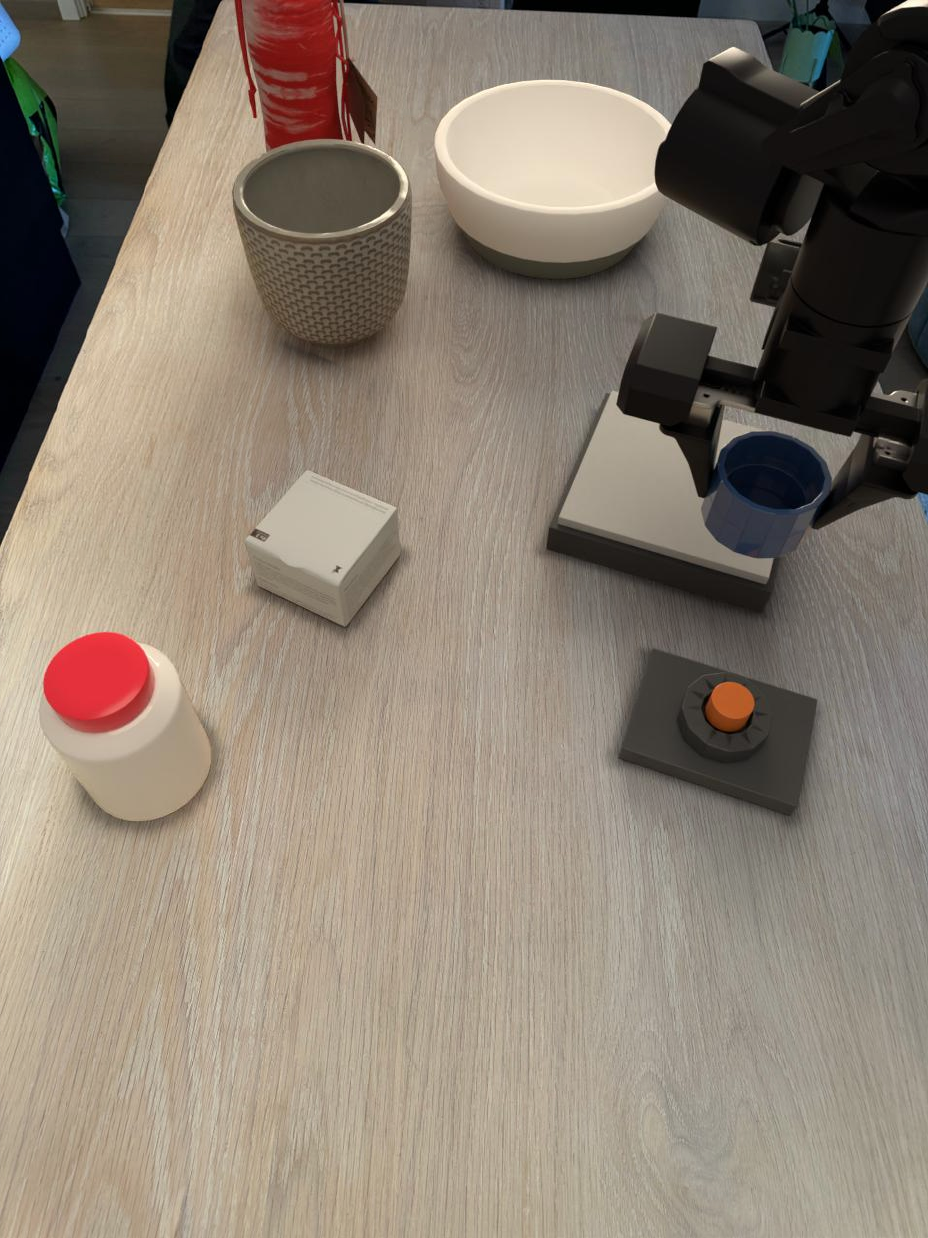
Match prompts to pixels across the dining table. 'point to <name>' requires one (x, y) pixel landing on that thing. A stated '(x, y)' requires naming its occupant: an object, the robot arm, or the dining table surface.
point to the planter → (326, 237)
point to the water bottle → (302, 71)
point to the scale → (651, 513)
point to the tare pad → (720, 733)
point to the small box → (324, 547)
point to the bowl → (551, 175)
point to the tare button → (729, 706)
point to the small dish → (765, 494)
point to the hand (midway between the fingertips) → (758, 507)
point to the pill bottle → (124, 726)
